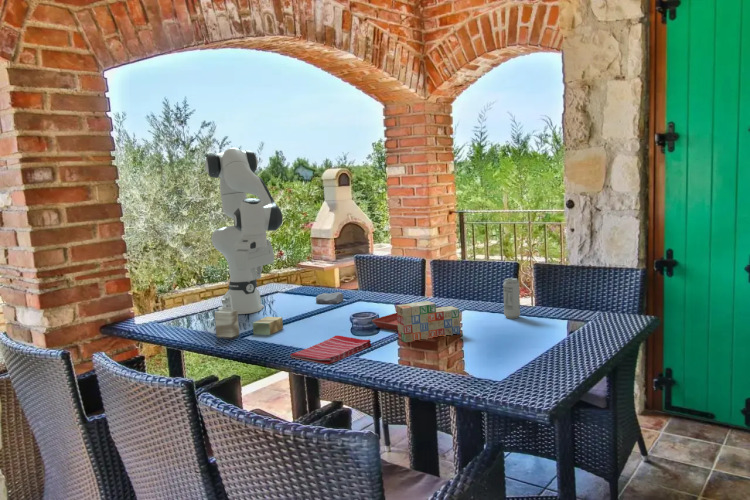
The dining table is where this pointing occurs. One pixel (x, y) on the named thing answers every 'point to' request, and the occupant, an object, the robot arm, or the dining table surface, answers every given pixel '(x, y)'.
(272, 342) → the dining table surface
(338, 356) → the dish towel
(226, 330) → the pine block
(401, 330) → the stack of blocks
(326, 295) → the stone block
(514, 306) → the energy drink can
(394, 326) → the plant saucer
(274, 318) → the oak block
